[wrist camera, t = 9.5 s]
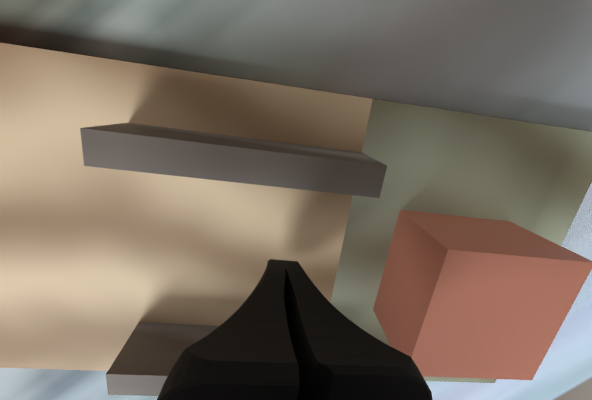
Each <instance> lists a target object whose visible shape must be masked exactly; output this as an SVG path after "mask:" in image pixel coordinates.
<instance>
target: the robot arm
mask: <svg viewBox="0 0 592 400" xmlns="http://www.w3.org/2000/svg"><path fill="white" fill-rule="evenodd" d="M157 400H432V394H431V391H430V389H429V387H428V385H427V384H426V382H425V380H424V378H423V376H422V374H421V372H420V370H419V369H418V367H417V366H416V364H415V362H414V361H413V359H412V358H411V357H410V356H408V355H406V354H404V353H402V352H401V351H399V350H397V349H395V348H393V347H391V346H389V345H387V344H385V343H383V342H382V341H380V340H378V339H377V338H375V337H374V336H372V335H370V334H369V333H367V332H366V331H364V330H363V329H361V328H360V327H359V326H357V325H356V324H355V323H353V322H352V321H351V320H349V319H348V318H347V317H346V316H344V315H343V314H342V313H341V312H340V311H339V310H338V309H336V308H335V307H334V306H333V305H332V304H331V303H330V302H329V301H328V300H327V299H326V298H325V297H324V295H323V294H322V293H321V292H320V291H319V290H318V288H317V287H316V286H315V285H314V283H313V282H312V281H311V279H310V278H309V277H308V275H307V274H306V273H305V271H304V270H303V268H302V267H301V265H300V264H299V262H298V261H288V260H275V259H270V260H269V261H268V262H267V267H266V269H265V272H264V274H263V276H262V277H261V279H260V281H259V283H258V284H257V286H256V287H255V289H254V290H253V291H252V293H251V294H250V296H249V297H248V298H247V299H246V301H245V302H244V303H243V304H242V305H241V306H240V307H239V309H238V310H237V311H236V312H235V313H234V314H232V315H231V316H230V317H229V318H228V319H227V320H226V321H225V322H224V323H223V324H221V325H220V326H219V327H217V328H216V329H215V330H214V331H212V332H211V333H210V334H208V335H207V336H206V337H204V338H202V339H201V340H199V341H197V342H196V343H194V344H192V345H191V346H189V347H187V348H186V349H184V351H183V352H182V353H181V355H180V357H179V358H178V360H177V361H176V363H175V364H174V366H173V368H172V369H171V371H170V373H169V375H168V377H167V379H166V380H165V382H164V384H163V387H162V389H161V391H160V394H159V396H158V399H157Z"/></svg>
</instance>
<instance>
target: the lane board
mask: <svg viewBox="0 0 592 400" xmlns="http://www.w3.org/2000/svg"><path fill="white" fill-rule="evenodd" d="M591 182H592V132H590V131H583V130H577V129H570V128H564V127H557V126H550V125H544V124H537V123H530V122H524V121H517V120H510V119H504V118H497V117H491V116H484V115H477V114H471V113H464V112H457V111H451V110H444V109H437V108H431V107H424V106H418V105H411V104H404V103H398V102H391V101H384V100H378V99H371V98H365V97H358V96H351V95H345V94H338V93H331V92H325V91H318V90H311V89H305V88H298V87H292V86H285V85H278V84H272V83H265V82H258V81H252V80H245V79H238V78H232V77H225V76H219V75H212V74H205V73H199V72H192V71H185V70H179V69H172V68H166V67H159V66H152V65H146V64H139V63H132V62H126V61H119V60H112V59H106V58H99V57H93V56H86V55H79V54H73V53H66V52H59V51H53V50H46V49H39V48H33V47H26V46H20V45H13V44H6V43H0V367H4V368H36V369H68V370H99V371H108V372H107V373H106V378H107V388H108V395H147V396H159V394H160V391H161V389H162V387H163V384H164V382H165V380H166V379H167V377H168V375H169V373H170V371H171V369H172V368H173V366H174V364H175V363H176V361H177V360H178V358H179V357H180V355H181V353H182V352H183V351H184V349H186V348H187V347H189V346H191V345H192V344H194V343H196V342H197V341H199V340H201V339H202V338H204V337H206V336H207V335H208V334H210V333H211V332H212V331H214V330H215V329H216V328H217V327H219V326H220V325H221V324H223V323H224V322H225V321H226V320H227V319H228V318H229V317H230V316H231V315H232V314H234V313H235V312H236V311H237V310H238V309H239V307H240V306H241V305H242V304H243V303H244V302H245V301H246V299H247V298H248V297H249V296H250V294H251V293H252V291H253V290H254V289H255V287H256V286H257V284H258V283H259V281H260V279H261V277H262V276H263V274H264V272H265V269H266V267H267V262H268V261H269V260H270V259H275V260H288V261H298V262H299V264H300V265H301V267H302V268H303V270H304V271H305V273H306V274H307V275H308V277H309V278H310V279H311V281H312V282H313V283H314V285H315V286H316V287H317V288H318V290H319V291H320V292H321V293H322V294H323V295H324V297H325V298H326V299H327V300H328V301H329V302H330V303H331V304H332V305H333V306H334V307H335V308H336V309H338V310H339V311H340V312H341V313H342V314H343V315H344V316H346V317H347V318H348V319H349V320H351V321H352V322H353V323H355V324H356V325H357V326H359V327H360V328H361V329H363V330H364V331H366V332H367V333H369V334H370V335H372V336H374V337H375V338H377V339H378V340H380V341H382V342H383V343H385V344H387V345H389V346H390V344H389V342H388V340H387V338H386V335H385V333H384V331H383V329H382V327H381V325H380V323H379V321H378V319H377V317H376V315H375V313H374V311H373V308H374V304H375V301H376V297H377V293H378V289H379V286H380V282H381V278H382V274H383V271H384V267H385V263H386V260H387V256H388V252H389V248H390V245H391V241H392V237H393V233H394V230H395V226H396V222H397V218H398V215H399V211H400V210H407V211H416V212H426V213H435V214H445V215H454V216H464V217H473V218H483V219H493V220H502V221H510V222H512V223H514V224H516V225H518V226H521V227H523V228H525V229H527V230H529V231H531V232H533V233H535V234H537V235H539V236H541V237H543V238H545V239H547V240H549V241H551V242H553V243H555V244H557V245H559V246H561V244H562V242H563V240H564V238H565V236H566V234H567V232H568V230H569V228H570V225H571V223H572V221H573V219H574V217H575V215H576V213H577V211H578V209H579V207H580V205H581V203H582V201H583V198H584V196H585V194H586V192H587V190H588V188H589V186H590V184H591ZM423 378H424V380H425V381H448V382H480V383H495V381H496V379H487V378H457V377H427V376H423Z"/></svg>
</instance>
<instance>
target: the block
mask: <svg viewBox="0 0 592 400" xmlns="http://www.w3.org/2000/svg"><path fill="white" fill-rule="evenodd" d="M591 269H592V261H590V260H588V259H586V258H584V257H582V256H580V255H578V254H576V253H574V252H572V251H570V250H568V249H566V248H564V247H562V246H559V245H557V244H555V243H553V242H551V241H549V240H547V239H545V238H543V237H541V236H539V235H537V234H535V233H533V232H531V231H529V230H527V229H525V228H523V227H521V226H518V225H516V224H514V223H512V222H510V221H502V220H493V219H483V218H473V217H464V216H454V215H445V214H435V213H426V212H416V211H407V210H400V211H399V215H398V218H397V222H396V226H395V230H394V233H393V237H392V241H391V245H390V248H389V252H388V256H387V260H386V263H385V267H384V271H383V274H382V278H381V282H380V286H379V289H378V293H377V297H376V301H375V304H374V308H373V311H374V313H375V315H376V317H377V319H378V321H379V323H380V325H381V327H382V329H383V331H384V333H385V335H386V338H387V340H388V342H389V344H390V346H391V347H393V348H395V349H397V350H399V351H401V352H402V353H404V354H406V355H408V356H410V357H411V358H412V359H413V361H414V362H415V364H416V366H417V367H418V369H419V370H420V372H421V374H422V376H427V377H457V378H487V379H517V380H532V379H533V377H534V375H535V374H536V372H537V370H538V368H539V366H540V364H541V362H542V360H543V359H544V357H545V355H546V353H547V351H548V349H549V347H550V346H551V344H552V342H553V340H554V338H555V336H556V334H557V332H558V331H559V329H560V327H561V325H562V323H563V321H564V319H565V317H566V316H567V314H568V312H569V310H570V308H571V306H572V304H573V303H574V301H575V299H576V297H577V295H578V293H579V291H580V289H581V288H582V286H583V284H584V282H585V280H586V278H587V276H588V275H589V273H590V271H591Z"/></svg>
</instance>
